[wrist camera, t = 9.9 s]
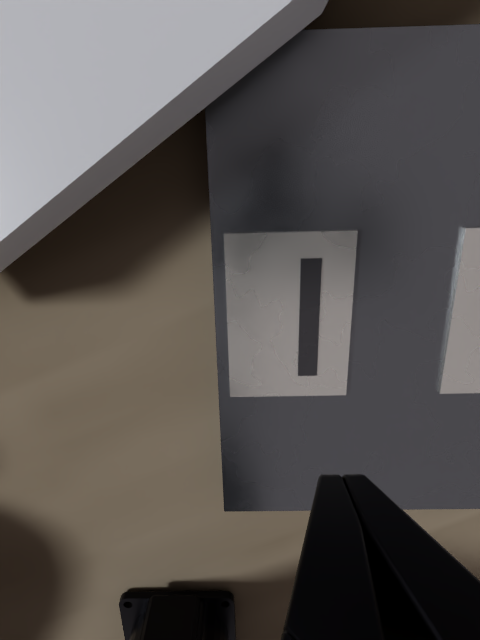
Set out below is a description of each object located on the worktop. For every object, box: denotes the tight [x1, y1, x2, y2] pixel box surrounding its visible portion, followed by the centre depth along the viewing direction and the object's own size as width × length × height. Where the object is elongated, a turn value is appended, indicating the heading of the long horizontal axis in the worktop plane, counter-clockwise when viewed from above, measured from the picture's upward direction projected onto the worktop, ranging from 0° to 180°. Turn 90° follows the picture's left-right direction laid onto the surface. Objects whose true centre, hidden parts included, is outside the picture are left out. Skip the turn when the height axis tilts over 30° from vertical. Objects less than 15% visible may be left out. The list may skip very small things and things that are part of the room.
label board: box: [205, 24, 480, 511], centre depth 17 cm, size 24×16×2 cm
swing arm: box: [0, 0, 328, 272], centre depth 12 cm, size 20×4×4 cm, turn 125°
